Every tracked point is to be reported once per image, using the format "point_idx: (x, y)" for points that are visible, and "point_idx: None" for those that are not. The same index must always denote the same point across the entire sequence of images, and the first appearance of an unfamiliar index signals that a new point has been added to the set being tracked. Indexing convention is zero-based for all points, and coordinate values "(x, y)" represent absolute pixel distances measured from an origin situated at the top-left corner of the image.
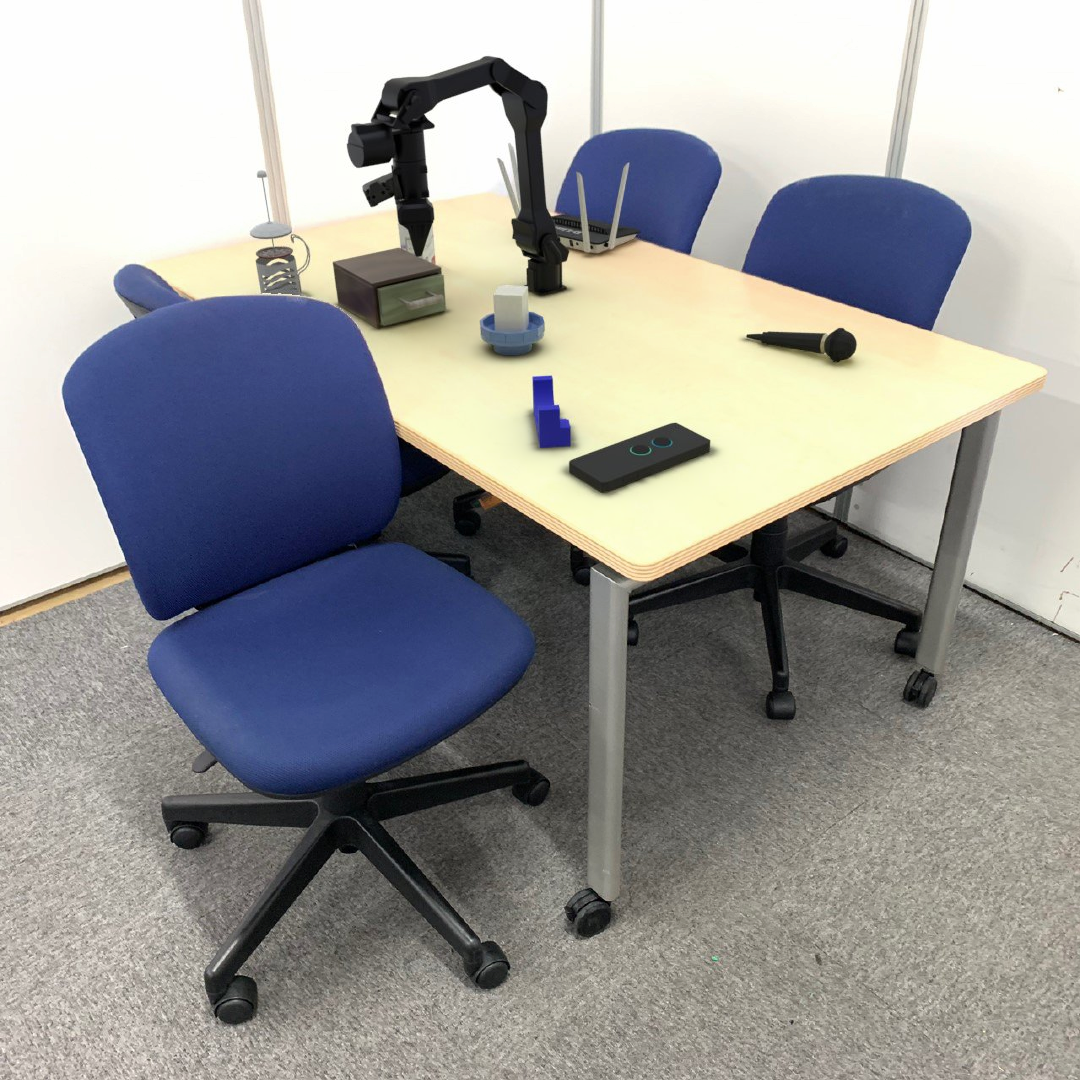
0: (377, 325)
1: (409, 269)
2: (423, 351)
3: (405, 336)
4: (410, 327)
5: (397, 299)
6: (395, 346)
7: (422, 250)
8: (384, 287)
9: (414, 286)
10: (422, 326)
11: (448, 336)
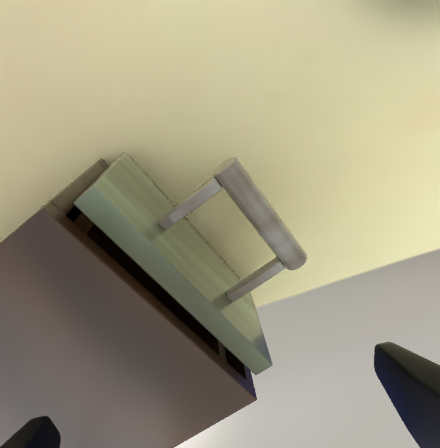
0: None
1: (93, 329)
2: (396, 176)
3: None
4: (229, 232)
5: (233, 301)
6: (349, 244)
7: (432, 366)
8: (247, 360)
9: (193, 277)
10: (223, 204)
11: (305, 122)
